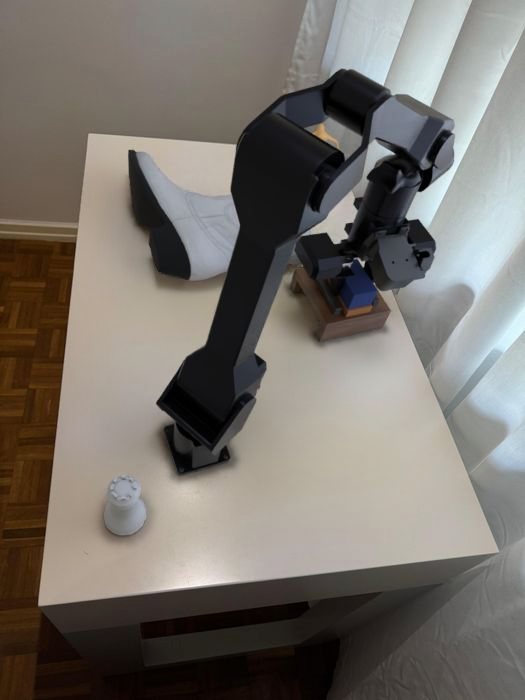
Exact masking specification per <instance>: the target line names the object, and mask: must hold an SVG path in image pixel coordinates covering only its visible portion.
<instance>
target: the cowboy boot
mask: <svg viewBox="0 0 525 700" xmlns="http://www.w3.org/2000/svg"><path fill="white" fill-rule="evenodd" d="M127 161H128V162H127V163H128V165H127V166H128V180H129V181H128V182H129V190H130V198H131V205H132V210H133V214H134V217H135V218H136V221H137V222H138V224H139V225H140V226H142V227H144V228H146V229H147V230H149V238H148V245H149V246H148V247H149V250H150V254H151V258H152V261H153V264H154V268H155V270H156V272H157V273H159V274H163V275H166V276H171V277H175V278H178V279H182V280H186V281H194V282H196V281H197V282H198V281H203V280H204V281H205V280H207V279H211V278H214V277H216V276H218V275H221V274H224V273H227V269H228V266H229V262H230V259H231V256H232V252H233V249H234V245H235V242H236V239H237V235H238V232H239V227H240V223H239V220H238V216H237V213H236V209H235V205H234V202H233V198H232V194H227V195H214V196H212V195H211V196H210V195H203V194H201V193H198V192H195V191H190V190H187V189H184V188H181V187H180V186H178V185H177V184H176V183H174V182H173V181H172V180H171V179H170V178H168V176H167V175H166V174H165V173H164V172H163V171H162V170H161V168H160V167H159V166H158V165H157V163H156V162H155V161H154V159H153V157H152V156H151V154H149V152H146V151H136V150H135V149H128V151H127ZM305 235H312V229H310V230H309V231H307V232H305V233H304V234H302V235H301V236H305ZM298 238H299V237H298ZM295 245H296V244H295ZM294 248H295V246H294ZM288 265H302V264H301V262H300V260H299V258H298V257H297V255H296V253H295V251H294V249H293V252H292V254H291V257H290V260H289V262H288Z"/></svg>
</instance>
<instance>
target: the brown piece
mask: <svg viewBox="0 0 525 700" xmlns="http://www.w3.org/2000/svg"><path fill="white" fill-rule="evenodd" d="M357 260H358V261H359V263H360V264H361V266H362V267H363V268H364V265H362V263H361V261H360V259H357ZM373 284H374V286H375V287H376V285H375V283H373ZM289 289H290V290H291V292H292V294H295V293H301V292H302V293H303V294H304V295H305V297H306V299H307V301H308V302H309V305H310V306H311V308H312V310H313V312H314V313H315V315H316V317H317V319H318V320H319V325H318V328H317V330H316V333H315V336H316V338H317V340H318V342H319V343H323V342H327V341H331V340H337V339H340V338H344V337H348V336H354V335H357V334H362V333H366V332H372V331H375V330H380V329H383V327H384V326H385V324H386V322H387V320H388V318H389V316H390V314H391V312H392V309H391V308H390V307H389V305H388V303H387V302H386V300H385V299H384V297H383V296H382V294H381V293H380V290H378V288H377V287H376V289H377V290H378V291H377V293H376V295H375V298H374V300H373V302H372V304H371V305H372V309H371V311H370V312H367V313H363V314H358V315H353V316H349V317H345V315H344V313H343V311H342V310H341V309H342V308H341V306H340V305H339V303H338V301H337V299H336V298H335V296H334V294H333V293H332V291H331V289H330V288H329V286H328V284H327V283H326V281H325V279H322V280H317V281H315V280H313V279H311V278H309V276H308V274H307V272H306V271H305V269H304V267H303V266H301V267H295V268H294V270H293V275H292V278H291V281H290V284H289Z"/></svg>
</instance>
